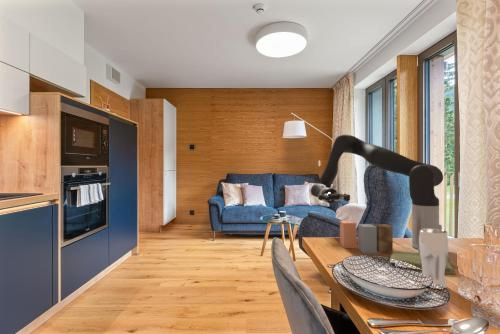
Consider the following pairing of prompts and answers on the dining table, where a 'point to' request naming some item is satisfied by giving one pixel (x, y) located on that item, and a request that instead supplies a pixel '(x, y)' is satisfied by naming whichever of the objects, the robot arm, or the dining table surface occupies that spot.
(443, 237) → the beer glass
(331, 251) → the dining table surface
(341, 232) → the terracotta block
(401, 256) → the washcloth
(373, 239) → the slate-grey block
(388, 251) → the walnut block
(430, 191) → the robot arm
